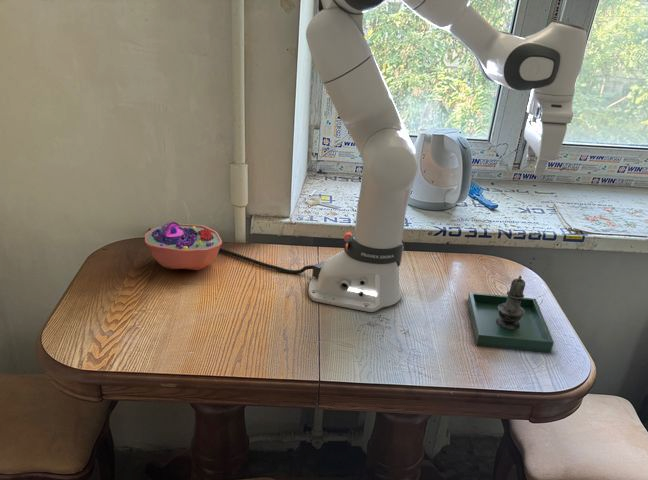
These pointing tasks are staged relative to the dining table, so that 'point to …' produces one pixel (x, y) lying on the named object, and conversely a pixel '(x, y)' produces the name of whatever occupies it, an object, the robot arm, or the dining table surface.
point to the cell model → (183, 245)
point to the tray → (491, 334)
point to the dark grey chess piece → (512, 306)
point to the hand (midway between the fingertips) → (533, 169)
